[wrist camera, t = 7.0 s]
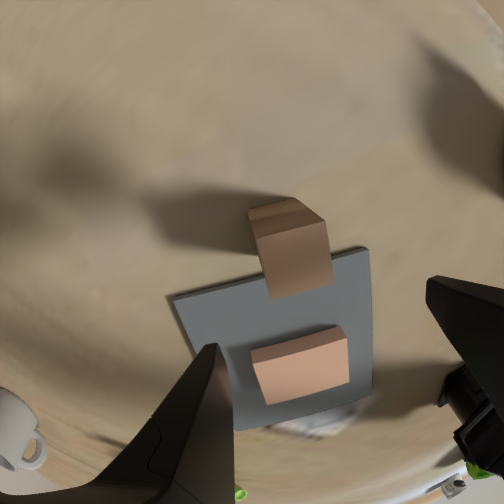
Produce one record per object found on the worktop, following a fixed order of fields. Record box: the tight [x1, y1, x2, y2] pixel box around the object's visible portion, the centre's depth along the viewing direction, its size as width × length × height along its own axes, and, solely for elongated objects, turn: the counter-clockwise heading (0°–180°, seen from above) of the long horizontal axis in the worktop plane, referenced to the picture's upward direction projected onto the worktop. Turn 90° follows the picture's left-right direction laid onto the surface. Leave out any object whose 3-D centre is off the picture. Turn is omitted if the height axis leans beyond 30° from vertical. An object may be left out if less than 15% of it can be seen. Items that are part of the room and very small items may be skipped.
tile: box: [251, 326, 349, 405], centre depth 21 cm, size 5×2×7 cm
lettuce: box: [466, 462, 494, 480], centre depth 36 cm, size 14×20×12 cm
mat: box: [173, 247, 373, 431], centre depth 23 cm, size 16×14×1 cm
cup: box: [0, 389, 48, 472], centre depth 20 cm, size 7×10×9 cm
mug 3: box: [441, 473, 466, 499], centre depth 47 cm, size 10×7×7 cm, turn 65°
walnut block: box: [247, 198, 335, 300], centre depth 16 cm, size 3×3×6 cm
